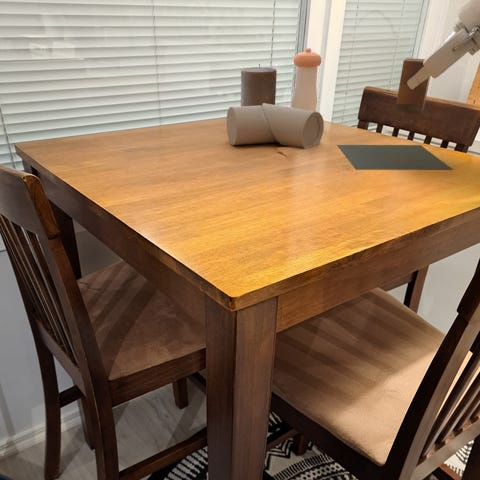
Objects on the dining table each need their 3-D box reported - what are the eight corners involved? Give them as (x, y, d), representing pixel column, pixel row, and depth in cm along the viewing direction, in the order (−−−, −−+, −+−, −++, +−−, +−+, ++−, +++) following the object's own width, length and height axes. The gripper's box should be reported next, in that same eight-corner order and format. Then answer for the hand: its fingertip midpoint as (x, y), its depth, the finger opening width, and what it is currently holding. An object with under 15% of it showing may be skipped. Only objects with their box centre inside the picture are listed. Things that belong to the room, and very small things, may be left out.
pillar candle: (280, 122, 141) (283, 63, 133) (263, 128, 134) (265, 66, 126) (251, 118, 145) (252, 61, 137) (233, 124, 138) (233, 64, 130)
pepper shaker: (304, 124, 139) (310, 46, 129) (321, 129, 134) (329, 48, 123) (283, 127, 136) (288, 47, 125) (300, 132, 131) (306, 50, 120)
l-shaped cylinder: (298, 128, 128) (224, 133, 123) (305, 86, 121) (226, 89, 116) (326, 161, 117) (245, 168, 112) (335, 117, 109) (249, 121, 104)
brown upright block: (423, 110, 98) (433, 59, 93) (421, 114, 95) (431, 62, 90) (397, 108, 100) (406, 58, 95) (394, 112, 97) (403, 60, 92)
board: (419, 149, 117) (420, 145, 117) (452, 174, 100) (454, 169, 100) (336, 149, 117) (336, 144, 116) (355, 174, 100) (355, 169, 99)
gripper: (490, 45, 79) (414, 106, 87) (490, 37, 95) (426, 90, 103) (467, 11, 78) (392, 77, 86) (471, 9, 94) (408, 65, 102)
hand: (411, 84), depth 95 cm, fingers closed on brown upright block, 4 cm apart
